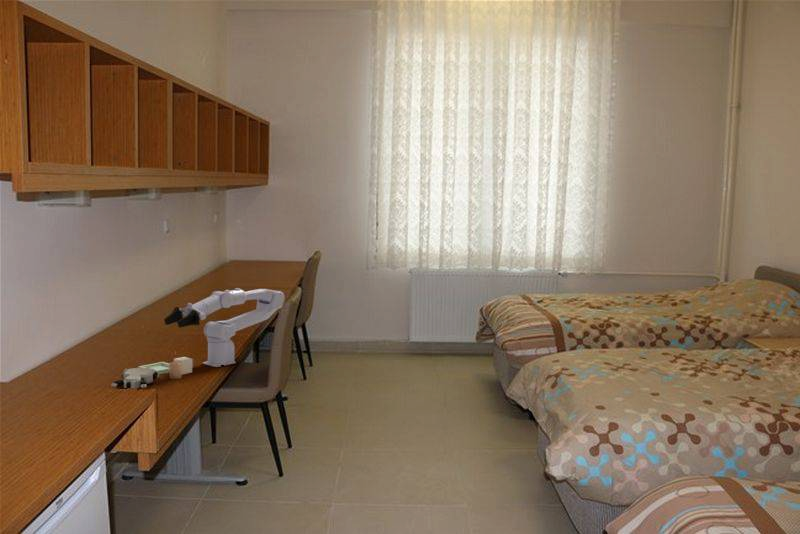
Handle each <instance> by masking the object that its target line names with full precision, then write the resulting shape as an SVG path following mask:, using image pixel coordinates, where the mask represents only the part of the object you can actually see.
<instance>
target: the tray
mask: <svg viewBox="0 0 800 534" xmlns="http://www.w3.org/2000/svg"><path fill="white" fill-rule="evenodd" d="M169 363H170V362H169ZM169 363H168V362H165V361H159V362H155V363H150V364H143V365H139V366H138V367H137V368H150V369H154V370H156V372H158V374H159V372H160V370H162V371H161V372H160V374H159V375H163V374H169Z"/></svg>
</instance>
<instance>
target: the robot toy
mask: <svg viewBox="0 0 800 534" xmlns="http://www.w3.org/2000/svg"><path fill="white" fill-rule="evenodd" d="M161 371H162V370H160V372H161ZM160 372H159V374H158V372H156V370H154V369H150V368H138V367H134V368H133V367H132V368H128V369H127V368H125V369H124V370H123V372H122V373H121V375H120V376H121V379H118V380H115V381H114V382H112V383H111V387H115V388H119V387H122V386H123V387H124V389H125V388H133V389H137V390H138V389H139V388H141V389H145V388H147V384H148V385H149V384H151V383H153V382H154V381H156V379H157V378H159V376H160V375H161V374H160Z"/></svg>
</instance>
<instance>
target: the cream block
mask: <svg viewBox="0 0 800 534" xmlns="http://www.w3.org/2000/svg"><path fill="white" fill-rule="evenodd" d="M192 359H193V358H190V357H188V356H182V357H175V358H173V362H181V363H182V372H181V376H182V375H187V374H190V373H193V367H192Z"/></svg>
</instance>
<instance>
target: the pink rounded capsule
mask: <svg viewBox="0 0 800 534" xmlns="http://www.w3.org/2000/svg"><path fill="white" fill-rule="evenodd" d="M181 372H182V363H181V362H174V361H172V362H169V373H168V375H169V379H171V380H178V379H181V378H182V375H181Z"/></svg>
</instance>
